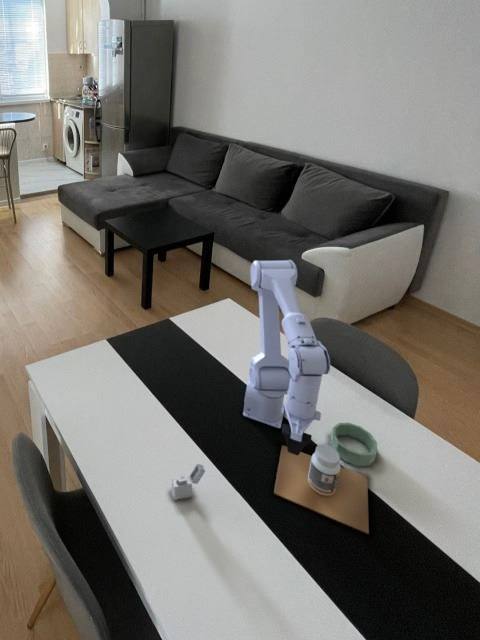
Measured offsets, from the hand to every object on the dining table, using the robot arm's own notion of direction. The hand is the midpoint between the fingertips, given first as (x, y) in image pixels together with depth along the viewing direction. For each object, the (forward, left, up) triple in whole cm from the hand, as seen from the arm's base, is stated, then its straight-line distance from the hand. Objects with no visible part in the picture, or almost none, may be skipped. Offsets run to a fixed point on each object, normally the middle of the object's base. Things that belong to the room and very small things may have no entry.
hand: (295, 439), depth 97 cm
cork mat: (+7, -1, -10) cm, 12 cm away
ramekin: (+13, +13, -10) cm, 21 cm away
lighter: (-19, -17, -11) cm, 28 cm away
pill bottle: (+7, -1, -10) cm, 12 cm away
